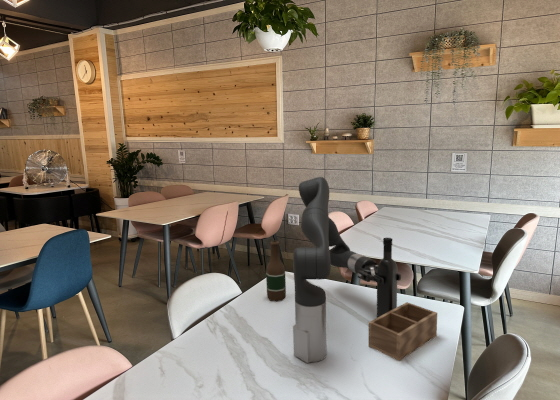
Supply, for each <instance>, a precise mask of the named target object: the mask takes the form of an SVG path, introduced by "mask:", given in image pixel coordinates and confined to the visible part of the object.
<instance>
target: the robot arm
mask: <svg viewBox="0 0 560 400" xmlns="http://www.w3.org/2000/svg"><path fill="white" fill-rule="evenodd" d="M298 192H299V196H300V199H301V201H302V203H303V205H304V206H305V208H304V210H303V211H302V213H301V214H302V215H301V222H300V228H301V232H302V233H303V235H304V237H305V238H307V240H309V241H310V243H312V245H314V247H309V246H308V247H303V246H302V247H296V248H295V249H294V251H293V254H292V267H293V268H292V270H293V281H294V282H293V283H294V308H295V309H294V314H295V315H294V316H295V317H294V319H295V321H294V322H295V324H294V325H293V326H292V336H293V340H292V341H293V356H295V357H297V358H298V359H299V360H301V361H303V362H305V363H306V364H309V363H316V362H319V361H323V360H324V359H325V358H326V357H327V355H328V354H327V353H328V351H327V349H328V348H327V347H328V345H327V293H326V291H325V289H323V288H322V287H320V286H318V285H315V284H313V283H312V282H309V281H308V280H318V281H319V280H326V279H327V278H329V276H330V273H331V268H332V267H336V268H345V269H348V270H350V271H351V272H353V273H355V275H357V279H360V280H362V281H364V282H367V283H370V282H372V283H373V282H375V283H376V284H377V283H379V284H381V285H382V284H384V279H383V278H382V277H380V276H378V275H377V267H378V264H377V262H376V260H374V259H373V258H370V257H368V256H365V255H363V254H360V253H358V252H355V251H353V250H351V248H350V247H349V245H348V244H346V242H345V241H344V240H343V237H341V235H340V232H339V230H338V226H337V225H336V223H335V221H334V220H333V219H332V218H331V217H329V201H330V186H329V183H328V181H327V179H326V178H324V177H323V176H318V177H314V178H310V179H307V180H304V181H301V182H300V183H299V184H298ZM330 247H331V249H330ZM331 266H332V267H331ZM399 281H402V275H401V274H400V273H398V272H397V282H399Z"/></svg>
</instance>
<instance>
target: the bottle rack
mask: <svg viewBox="0 0 560 400" xmlns="http://www.w3.org/2000/svg"><path fill="white" fill-rule="evenodd" d="M437 331H438V312H436V311H433V310H430V309H428V308H426V307H422V306H419V305H416V304H413V303H410V302H408V301H407V302H405V303H402V304H400V305H399V306H397V308H395V309H393V310H391V311H389V312H387V313H385V314H383V315H382V316H380V317H378V318H377V317H376V318H374V319H372V320H370V321H368V347H369V348H372V349H374V350H375V351H378V352H380V353H382V354H384V355H386V356H387V357H390V358H392V359H394V360H396V361H399V362H400V361H402V360H403V359H405V358H406V357H408V356H410V354H412V353H413V352H415V351H417V350H418V349H420V348H421V347H422V346H424V345H426V344H427V343H429V342H430V341H431V340H433V339H434V338H437V334H438V333H437Z"/></svg>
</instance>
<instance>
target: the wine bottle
mask: <svg viewBox="0 0 560 400" xmlns="http://www.w3.org/2000/svg"><path fill="white" fill-rule="evenodd" d="M382 241H383V242H382V244H383V250H382V251H383V258H382V259H380V261H379V263H378V264H377V265H378V267H377V275H378V276H380V277H382V278H383V279H384V284H382V285H381V284H379V283H377V282H376V318H378V317H380V316H382V315H383V314H385V313H387V312H389V311H391V310H393V309H395V308H397V307H398V280H397V273H398V265H397V263H396V261H395V260H394V259H393V257H392V256H393V252H392V251H393V238H391V237H383V239H382Z"/></svg>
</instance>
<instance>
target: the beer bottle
mask: <svg viewBox="0 0 560 400" xmlns="http://www.w3.org/2000/svg"><path fill="white" fill-rule="evenodd" d="M269 245H270V257H269V259H270V260H269V262H268V263H267V266H266V268H265V269H266V271H265V275H266V277H265V278H266V280H265V281H266V297H267V299H268V300H269V301H270V302H275V303H276V302H282V301H284V300H285V298H286V297H287V286H286V284H287V283H286V281H287V280H286V267H285V265H284V263H283V261H282V260H281V255H280V242H279V241H278V240H271V241H270V243H269Z"/></svg>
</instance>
